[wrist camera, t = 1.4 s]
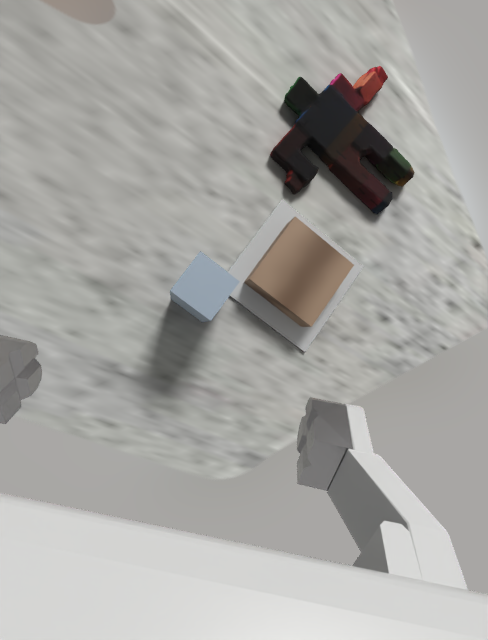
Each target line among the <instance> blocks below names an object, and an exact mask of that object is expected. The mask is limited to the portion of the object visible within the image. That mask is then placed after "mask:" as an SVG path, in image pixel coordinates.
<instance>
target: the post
mask: <svg viewBox="0 0 488 640" xmlns="http://www.w3.org/2000/svg"><path fill="white" fill-rule="evenodd" d="M239 282H240V281H239V280H237V279H236V278H235V277H233V276H232V275H231V274H229V273H228V272H227V271H226V270H224V269H223V268H222V267H220V266H219V265H218V264H216V263H215V262H214V261H213V260H211V259H210V258H209V257H207V256H206V255H205V254H204V253H202V252H201V251H200V252H199V254H198V255H197V256H196V257H195V259H194V260H193V261H192V263H191V264H190V265H189V267H188V268H187V269H186V271H185V272H184V273H183V274H182V276H181V277H180V278H179V280H178V281H177V282H176V284H175V285H174V286H173V287H172V289H171V290H170V295H171V300H173V301H174V302H175V303H177V304H178V305H179V306H181V307H182V308H184V309H185V310H186V311H188V312H189V313H190V314H192V315H193V316H194V317H196V318H197V319H199V320H200V321H201V322H207V321H211V320H212V319H213V317H214V316H215V315H216V313H217V312H218V311H219V309H220V308H221V307H222V305H223V304H224V302H225V301H226V300H227V298H228V297H229V296H230V294H231V293H232V292H233V290H234V289H235V288H236V286H237V285H238V283H239Z"/></svg>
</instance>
